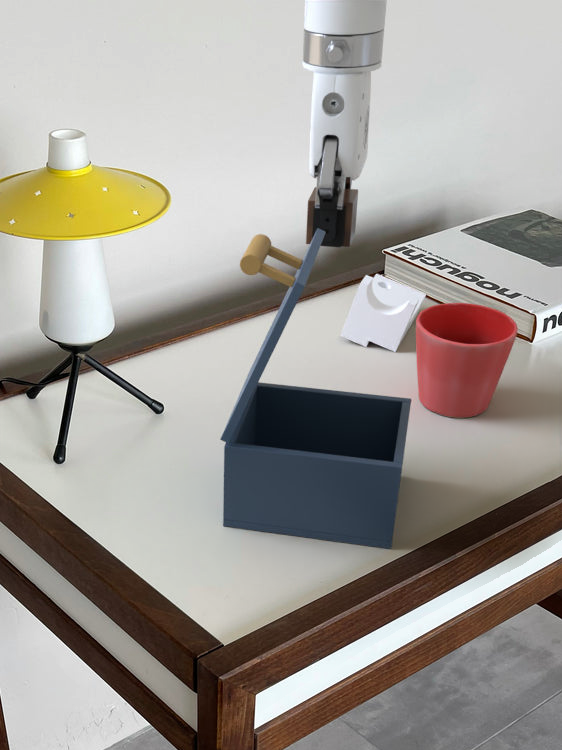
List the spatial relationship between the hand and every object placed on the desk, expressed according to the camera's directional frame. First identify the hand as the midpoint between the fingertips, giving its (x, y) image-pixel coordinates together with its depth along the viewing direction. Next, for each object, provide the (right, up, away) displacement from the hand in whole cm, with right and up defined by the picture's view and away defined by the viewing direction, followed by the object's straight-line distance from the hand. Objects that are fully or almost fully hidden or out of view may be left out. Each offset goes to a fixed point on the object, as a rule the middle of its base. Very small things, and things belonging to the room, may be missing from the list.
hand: (331, 234), depth 107 cm
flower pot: (+15, -17, +7) cm, 24 cm away
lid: (-7, -14, -17) cm, 23 cm away
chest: (-3, -28, -8) cm, 29 cm away
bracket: (+11, -6, +24) cm, 26 cm away
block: (0, 0, 0) cm, 0 cm away
